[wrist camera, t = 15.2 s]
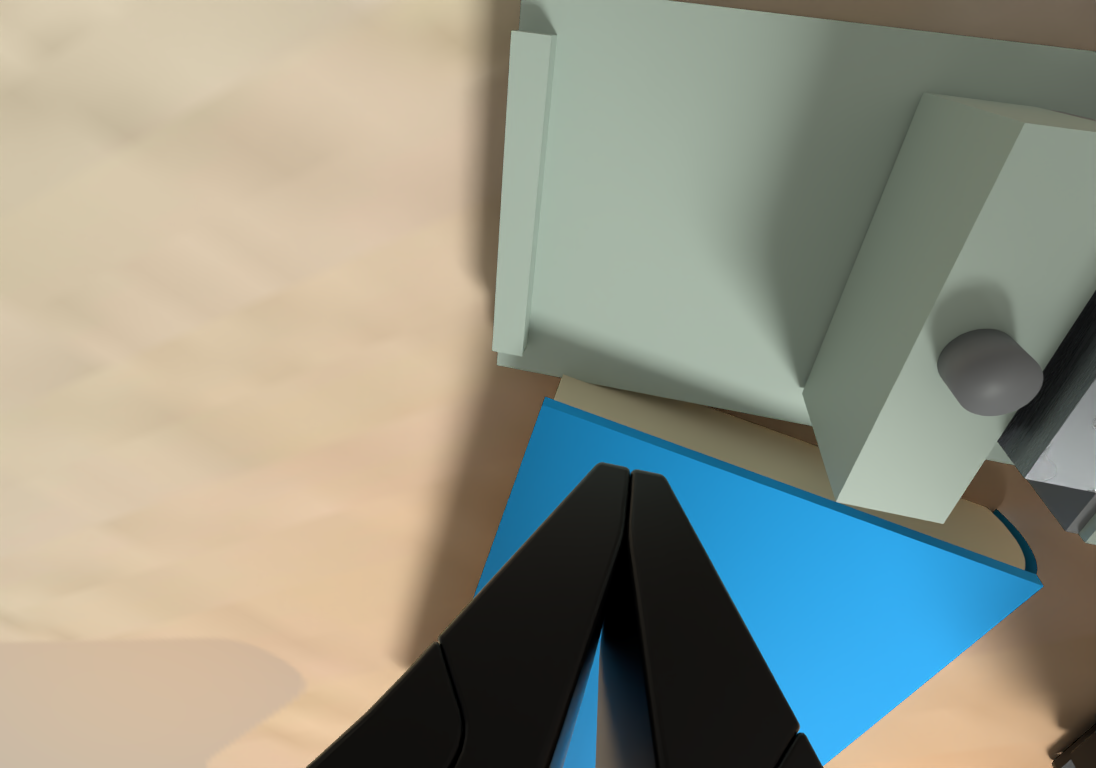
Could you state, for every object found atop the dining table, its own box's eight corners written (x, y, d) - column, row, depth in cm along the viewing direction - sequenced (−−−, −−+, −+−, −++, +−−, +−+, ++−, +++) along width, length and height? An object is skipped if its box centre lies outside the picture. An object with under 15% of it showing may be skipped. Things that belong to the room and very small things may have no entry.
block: (1123, 226, 15) (1349, 333, 10) (1035, 364, 17) (1183, 509, 12) (995, 207, 15) (1150, 301, 10) (925, 345, 17) (1024, 478, 12)
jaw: (1050, 108, 14) (1261, 159, 9) (894, 410, 18) (973, 558, 13) (923, 92, 14) (1056, 132, 9) (802, 393, 19) (845, 531, 14)
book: (415, 760, 32) (529, 407, 18) (442, 685, 36) (556, 342, 22) (715, 870, 32) (1070, 599, 18) (713, 783, 35) (1007, 499, 21)
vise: (1394, 88, 13) (1789, 126, 9) (1100, 462, 19) (1236, 607, 15) (532, -16, 16) (465, -31, 11) (505, 349, 21) (454, 442, 17)
